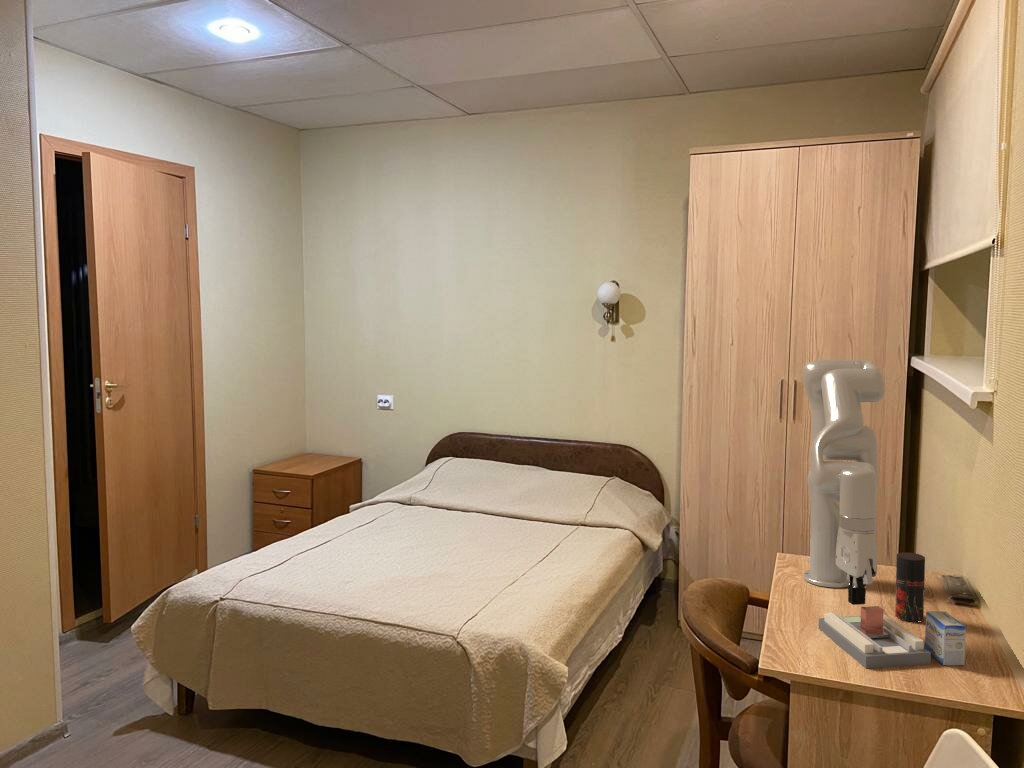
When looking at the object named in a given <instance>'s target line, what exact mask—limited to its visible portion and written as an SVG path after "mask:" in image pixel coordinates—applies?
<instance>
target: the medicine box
mask: <svg viewBox="0 0 1024 768" xmlns="http://www.w3.org/2000/svg"><path fill="white" fill-rule="evenodd" d="M966 631H967V627H966V625H965V624H963V623H962V622H960V621H959V620H958V619H956V618H955V617H954V616H952V615H951V614H950V613H948V612H947V611H941V610H938V611H937V610H936V611H935V610H929V611H926V613H925V631H924V633H925V634H924V648H925V649H927V650H928V651H930V652H931V657H933V658H934V659H935V660H937V661H938V662H939V663H940V664H941V665H942V666H944V665H963V666H965V658H966V639H967V638H966V634H967V632H966Z"/></svg>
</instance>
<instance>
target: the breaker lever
mask: <svg viewBox="0 0 1024 768" xmlns="http://www.w3.org/2000/svg"><path fill="white" fill-rule="evenodd" d="M883 614H884V609H883V608H882V607H881V606H879V605H875V606H874V605H873V606H861V607H860V616H861V626H855V627H856V628H857V629H859V630H860V631H861V632H863V633H864V634H865V635H866V636H868V637H869V638H883V637H889V634H888V633H886V632H885V631H884V630H883Z"/></svg>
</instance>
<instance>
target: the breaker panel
mask: <svg viewBox="0 0 1024 768" xmlns="http://www.w3.org/2000/svg"><path fill="white" fill-rule="evenodd" d="M855 626H861V615H855V616H854V615H853V616H841V615H840V614H839V613H833V612H825V613H824V617H820V618H819V617H818V630H819V629H820V630H819V631H821V632H822V631H823V632H824V633H825V634H826V635H825V634H824V633H823V632H822V633H823V634H824V635H825V636H827V637H828V638H829V639H830V638H831V639H832V642H834V643H835V644H836V645H837V646H839V648H840V649H842V650H843V651H844V652H846V653H847V654H848V655H850V656H851V657H852V658H853V659H854V660H855V661H857V663H859V664H860V665H861V666H862V667H864V668H865V669H874V668H889V667H890V668H891V667H906V666H919V665H920V666H921V665H931V661H932V660H931V657H932V655H931V652H930V651H928V650H927V649H925V640H923V639H922V638H920V637H918V636H917V635H916V634H915V633H912V632H911V631H909V629H908V628H907V629H906V628H905V627H904V626H902V625H901V624H899V623H898V622H897V621H894V620H893V619H892V618H890V617H889V616H888V615H886V614H884V613H883V630H884V631H885V632H886V633H888V634H889V637H883V638H869V637H868V636H866V635H865V634H864V633H863V632H861V631H860V630H859V629H857V628H856V627H855ZM831 639H830V640H831Z"/></svg>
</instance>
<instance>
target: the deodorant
mask: <svg viewBox="0 0 1024 768" xmlns="http://www.w3.org/2000/svg"><path fill="white" fill-rule="evenodd" d="M895 568H896V569H895V570H896V574H895V607H894V608H895V609H894V610H895V611H894V612H895V613H894V616H895V618H896V617H897V618H898V619H897V618H896V619H897V620H899V619H900V620H899V621H902V622H905V621H906V622H905V623H910V622H918V621H922V620H923V621H924V617H925V615H924V612H925V610H924V609H925V604H924V603H925V578H926V577H925V574H926V572H925V571H926V557H925V556H924V555H922V554H920V553H914V552H908V551H907V552H898V553H896V567H895ZM923 621H922V622H923Z"/></svg>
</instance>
